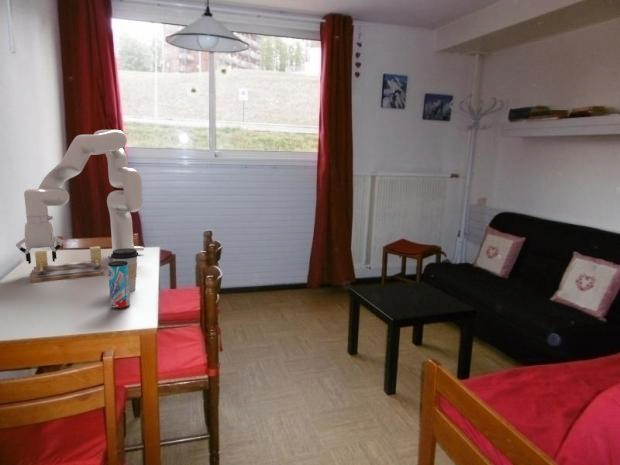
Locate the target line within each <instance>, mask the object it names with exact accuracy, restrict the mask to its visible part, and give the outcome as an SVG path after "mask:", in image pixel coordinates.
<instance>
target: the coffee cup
mask: <svg viewBox="0 0 620 465" xmlns="http://www.w3.org/2000/svg"><path fill="white" fill-rule="evenodd" d="M112 252H113V254H111V257H110V258H111V259H112V262H114V261H126V262H128V275H129V293H131V292H134V291H135V290H136V282H137V273H138V272H137V271H138V257H139V251H137V252H136V249H132V248H124V249H117V250H114V251H113V250H112Z"/></svg>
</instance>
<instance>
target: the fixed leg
mask: <svg viewBox="0 0 620 465" xmlns="http://www.w3.org/2000/svg"><path fill="white" fill-rule="evenodd" d="M89 252H90V253H89V254H90V255H89V257H90V261H91V263H92V262H96V268H98V267H99V265H98V262H99V263H101V262H102V250H101V246H99V245H98V246H89Z"/></svg>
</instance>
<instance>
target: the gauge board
mask: <svg viewBox="0 0 620 465" xmlns="http://www.w3.org/2000/svg"><path fill="white" fill-rule="evenodd" d="M98 265H99V267H98V268H96V262H92V263H91V260H88V261H87V260H86V261H77V262H67V263H56V264H48V267H43V273H40V267H39V268H36V265H35V266H33V269H31V271H30V276H29V283H30V284H31V283H42V282H50V281H59V280H70V279H76V278H77V279H78V278H87V277H96V276H104V275H105V274H104V273H105V272H104V269H103V265H102V263H101V262H98Z"/></svg>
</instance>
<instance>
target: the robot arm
mask: <svg viewBox="0 0 620 465" xmlns="http://www.w3.org/2000/svg"><path fill="white" fill-rule="evenodd" d="M127 141H128V138H127V136H126V134H125V132H123V131H122V130H119V129H100V130H97V131H95V132H94V133H93V134H79V135H76V136H75V137H74V139H73V140H72V141H71V143H70V145H69V146H68V149H67V150H66V152H65V154H64V156H63V157H62V159H61V161H60V162H59V163H58V164H57V165H56V166H54V167H53V168H52V169H51V170H50V171H49V172H48V173H47V174H46V175H45V177H44V178H43V179H42V181H41V183H40V184H39V185H38V186H39V187H38V188H30V189H26V190H24V191H23V192H24V193H23V195H24V196H23V198H24V205H25V206H24V207H25V214H26V223H24V238H23V239H21V240H19V242H17V243H16V244H15V246H16V248H17V249H18V250H20V251H21V252H22V253H23V254H25V261H26V262H28V264H29V265H30V264H31V263H32V257H31V252H30V251H31V250H32V249H41V248H50V249H51V256H52V262H56V260H57V251H58V250H59V249H60V248H61V246H62V245H63V244H64V239H63V240H62V239H60V238H59V237H57V236H55V235H54V228H53V225H52V222H51V220H52V221H53V220H54V218H53V216H52V215H49V210H48V207H49V206H50V207H62V206H64V205H66V204H67V203H68V202H69V200H70V194H69V192H68V191H67V190H66V189H65V188H64V189H63V188H62V187H61V186H62V185H63V184H64V183H65V182H67V181H68V180H70V179H72V178H75V177H76V176H78V175H80V173H81V172H82V171H83V169H84V168H85V166H86V164H87V162H88V161H89V158H90V157H91V156H92V155H93V156H94V155H96V156H97V155H102V154H103V155H104V154H105V156H106V159H107V160H106V161H107V170H108V180H109V184H110V186H111V187H114V188H118V189H123V190H113V191H111V192H110V193H109V194H108V196H107V197H106V198H107V199H106V204H107V205H106V206H107V208H108V213H109V220H110V232H111V234H110V235H111V248H112V250H111V251H112V252H109V253H108V255H109V256H108V257H109V258H111V254H113V251H114V250H117V249H124V248H132V249H136V252H141V251H144V250H145V248H144V246H139V245H138V246H135V244H134V233H133V218H132V214H131V213H136V212H138V211H139V210H140V209H141V208H142V206H143V180H142V176H141V174H140V173H139V171H137V170H136V169H135V168H132V167H131V168H130V167H129V164H128V156H127V154H126V151H125V149H124V148H125V146H126V145H127V143H128V142H127ZM55 241H56V242H58V243H57V244H56V245H55ZM23 244H25V247H26V248H25V247H23V246H22V245H23Z"/></svg>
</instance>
